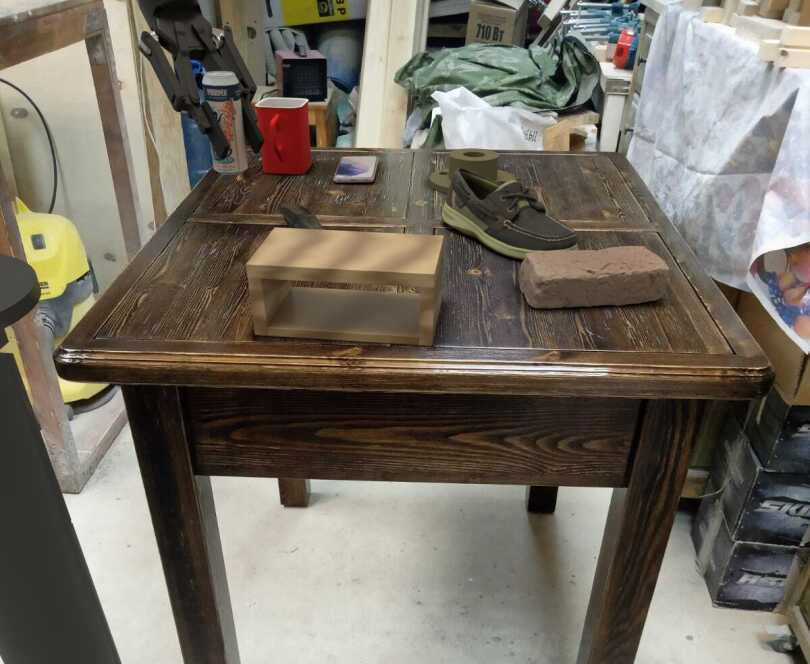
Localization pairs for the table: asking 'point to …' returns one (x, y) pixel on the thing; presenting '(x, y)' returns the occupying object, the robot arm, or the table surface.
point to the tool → (299, 217)
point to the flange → (470, 167)
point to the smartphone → (356, 169)
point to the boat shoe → (503, 216)
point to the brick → (592, 277)
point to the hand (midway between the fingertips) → (242, 149)
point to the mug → (284, 135)
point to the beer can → (227, 119)
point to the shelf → (347, 263)
